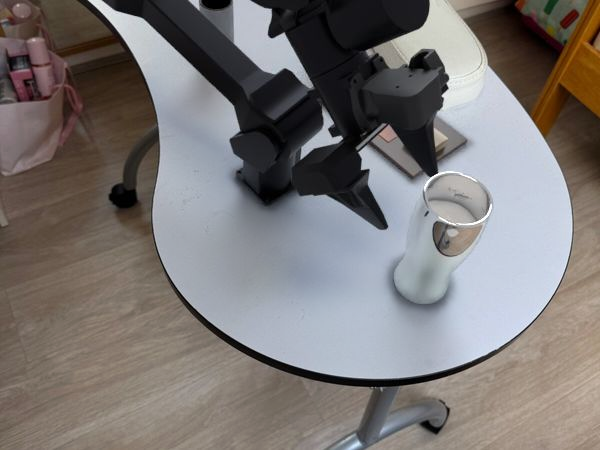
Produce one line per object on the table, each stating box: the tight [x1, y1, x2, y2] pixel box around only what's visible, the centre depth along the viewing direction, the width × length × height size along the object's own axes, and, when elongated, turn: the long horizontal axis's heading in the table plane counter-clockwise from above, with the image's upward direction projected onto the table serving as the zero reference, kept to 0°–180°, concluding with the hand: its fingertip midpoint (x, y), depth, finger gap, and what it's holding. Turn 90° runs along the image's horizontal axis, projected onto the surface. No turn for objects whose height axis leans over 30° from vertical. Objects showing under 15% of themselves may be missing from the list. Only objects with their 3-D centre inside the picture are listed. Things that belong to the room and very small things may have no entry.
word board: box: [317, 98, 468, 180], centre depth 81 cm, size 11×20×2 cm, turn 40°
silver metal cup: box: [393, 171, 494, 305], centre depth 60 cm, size 7×7×15 cm
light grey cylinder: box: [198, 0, 235, 44], centre depth 82 cm, size 4×4×10 cm
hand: (410, 201), depth 59 cm, fingers open, 9 cm apart
